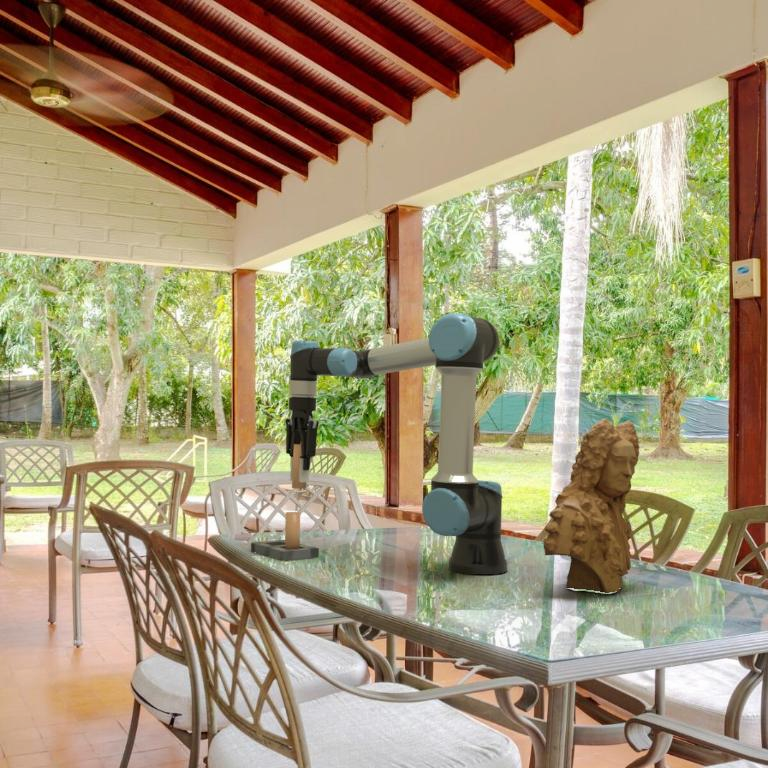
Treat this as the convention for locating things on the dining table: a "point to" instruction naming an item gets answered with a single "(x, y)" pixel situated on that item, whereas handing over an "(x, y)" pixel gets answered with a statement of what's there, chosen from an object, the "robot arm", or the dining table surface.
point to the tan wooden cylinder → (292, 530)
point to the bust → (596, 509)
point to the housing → (284, 550)
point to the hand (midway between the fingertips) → (299, 481)
